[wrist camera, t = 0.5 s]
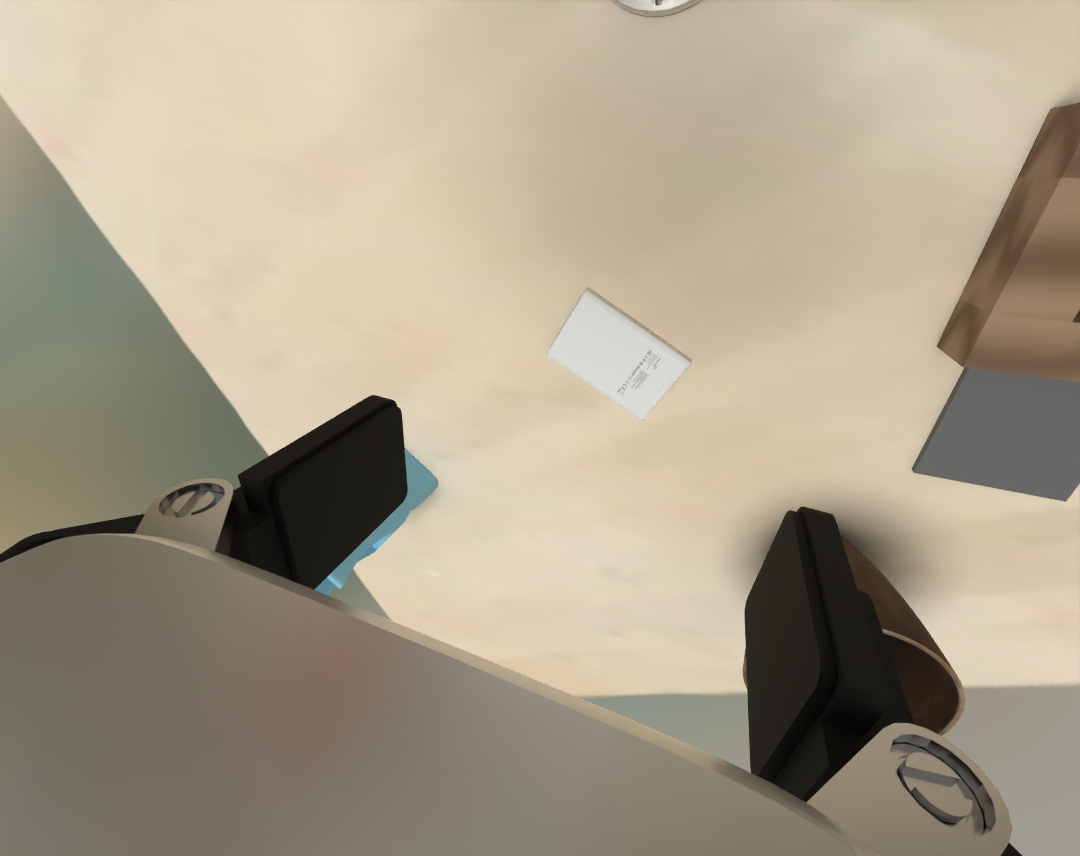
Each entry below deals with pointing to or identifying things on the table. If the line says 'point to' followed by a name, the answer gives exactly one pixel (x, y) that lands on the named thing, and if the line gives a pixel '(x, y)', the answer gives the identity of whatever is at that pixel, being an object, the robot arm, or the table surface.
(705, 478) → the table surface
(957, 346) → the socket block
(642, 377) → the external hard drive
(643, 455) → the table surface
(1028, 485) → the rubber mat
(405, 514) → the light blue angular piece
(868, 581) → the plant pot
